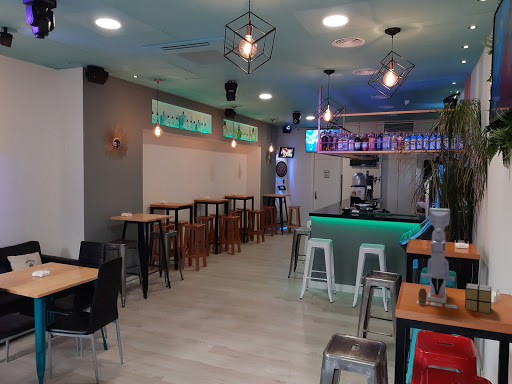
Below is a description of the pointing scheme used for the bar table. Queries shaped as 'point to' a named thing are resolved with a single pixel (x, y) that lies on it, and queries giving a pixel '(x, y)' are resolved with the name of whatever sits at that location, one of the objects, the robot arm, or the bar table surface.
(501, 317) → the bar table surface
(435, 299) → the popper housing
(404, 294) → the bar table surface
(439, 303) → the board
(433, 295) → the button
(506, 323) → the bar table surface
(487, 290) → the puzzle cube
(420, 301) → the pawn
